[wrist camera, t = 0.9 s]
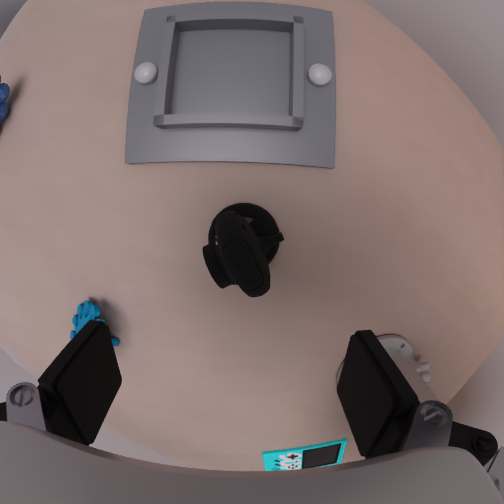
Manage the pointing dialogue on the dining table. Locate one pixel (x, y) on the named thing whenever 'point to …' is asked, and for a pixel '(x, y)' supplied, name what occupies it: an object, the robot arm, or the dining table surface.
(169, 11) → the housing
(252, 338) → the dining table surface
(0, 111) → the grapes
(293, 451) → the handheld game console
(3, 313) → the dining table surface
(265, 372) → the dining table surface
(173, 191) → the dining table surface
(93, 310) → the gear
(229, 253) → the webcam
